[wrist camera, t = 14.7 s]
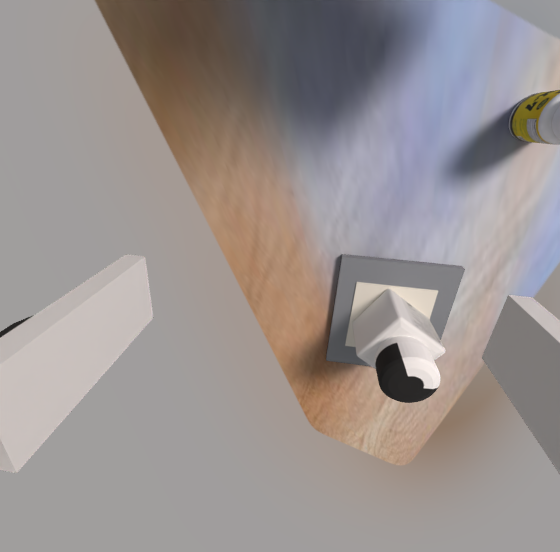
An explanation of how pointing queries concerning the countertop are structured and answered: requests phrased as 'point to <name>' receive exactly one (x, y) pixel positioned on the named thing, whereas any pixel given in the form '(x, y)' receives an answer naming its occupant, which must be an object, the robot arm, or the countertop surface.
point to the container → (399, 347)
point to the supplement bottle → (537, 118)
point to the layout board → (375, 281)
